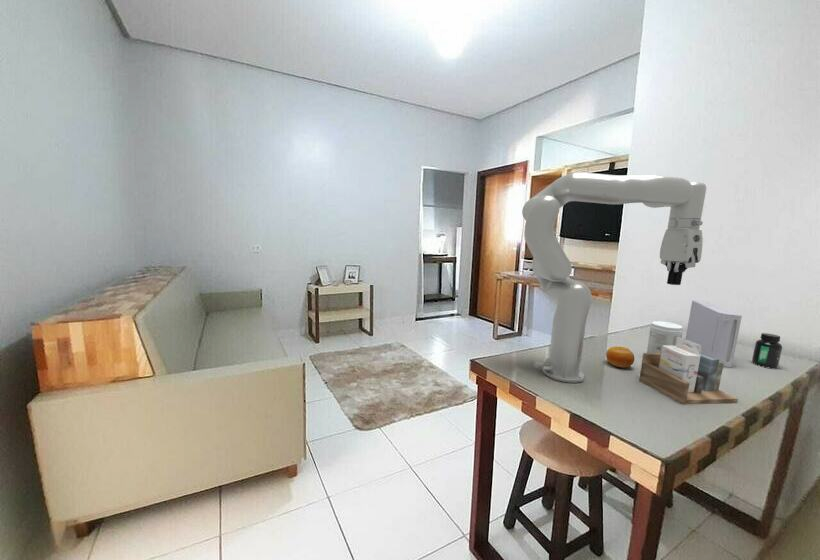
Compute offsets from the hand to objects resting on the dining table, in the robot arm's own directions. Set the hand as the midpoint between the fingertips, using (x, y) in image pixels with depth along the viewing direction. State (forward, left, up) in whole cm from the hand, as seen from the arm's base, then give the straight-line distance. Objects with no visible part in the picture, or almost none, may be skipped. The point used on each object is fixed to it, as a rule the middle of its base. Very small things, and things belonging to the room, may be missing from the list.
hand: (673, 284), depth 102 cm
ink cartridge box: (0, -6, -31) cm, 32 cm away
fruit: (-4, +12, -32) cm, 35 cm away
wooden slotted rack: (+3, -7, -32) cm, 33 cm away
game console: (+43, +22, -32) cm, 58 cm away
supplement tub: (+16, +15, -32) cm, 39 cm away
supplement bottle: (+56, +11, -32) cm, 66 cm away
